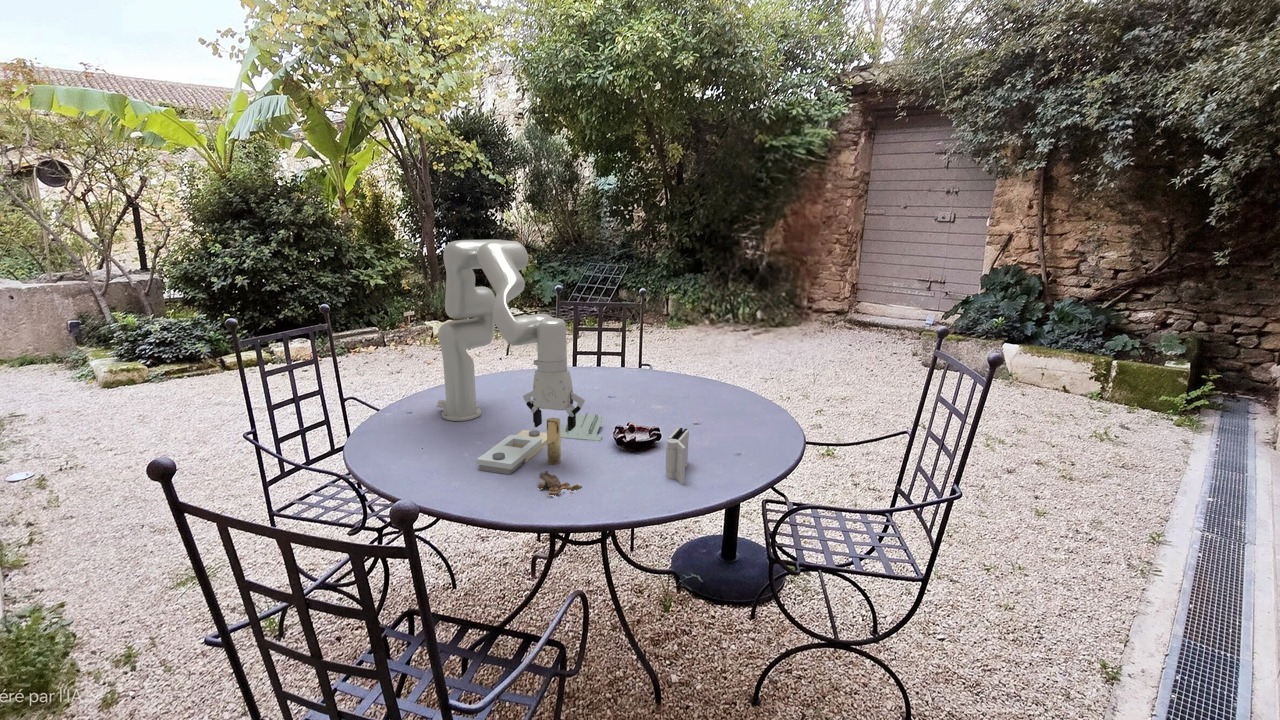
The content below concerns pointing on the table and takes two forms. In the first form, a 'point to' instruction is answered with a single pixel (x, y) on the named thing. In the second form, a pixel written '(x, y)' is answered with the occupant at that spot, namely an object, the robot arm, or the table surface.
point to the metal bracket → (583, 428)
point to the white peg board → (512, 452)
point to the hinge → (677, 454)
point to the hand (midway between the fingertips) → (554, 427)
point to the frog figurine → (555, 484)
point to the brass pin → (553, 441)
